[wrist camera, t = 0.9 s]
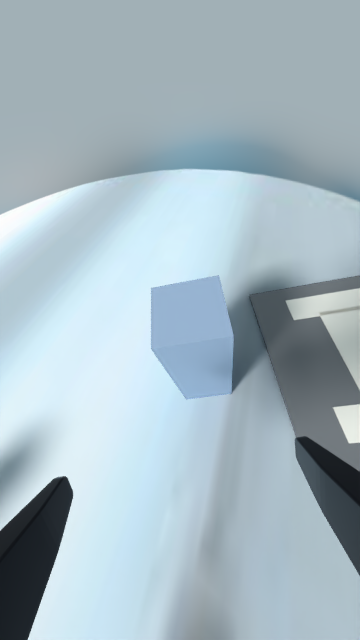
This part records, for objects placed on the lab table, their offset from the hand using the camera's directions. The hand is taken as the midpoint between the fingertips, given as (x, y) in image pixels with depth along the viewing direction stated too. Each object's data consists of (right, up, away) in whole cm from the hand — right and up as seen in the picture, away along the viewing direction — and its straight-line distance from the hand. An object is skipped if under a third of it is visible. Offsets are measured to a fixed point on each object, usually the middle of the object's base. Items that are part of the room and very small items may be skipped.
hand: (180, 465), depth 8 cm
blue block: (+3, -1, +17) cm, 17 cm away
